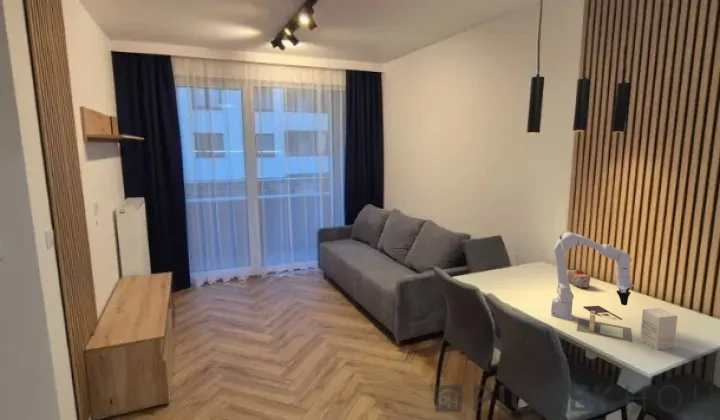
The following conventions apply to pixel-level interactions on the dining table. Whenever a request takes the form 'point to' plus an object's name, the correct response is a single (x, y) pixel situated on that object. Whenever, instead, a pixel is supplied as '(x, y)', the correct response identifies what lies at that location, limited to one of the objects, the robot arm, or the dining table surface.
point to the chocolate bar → (602, 312)
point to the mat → (606, 330)
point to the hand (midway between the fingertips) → (624, 302)
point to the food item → (578, 279)
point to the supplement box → (658, 328)
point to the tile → (592, 320)
